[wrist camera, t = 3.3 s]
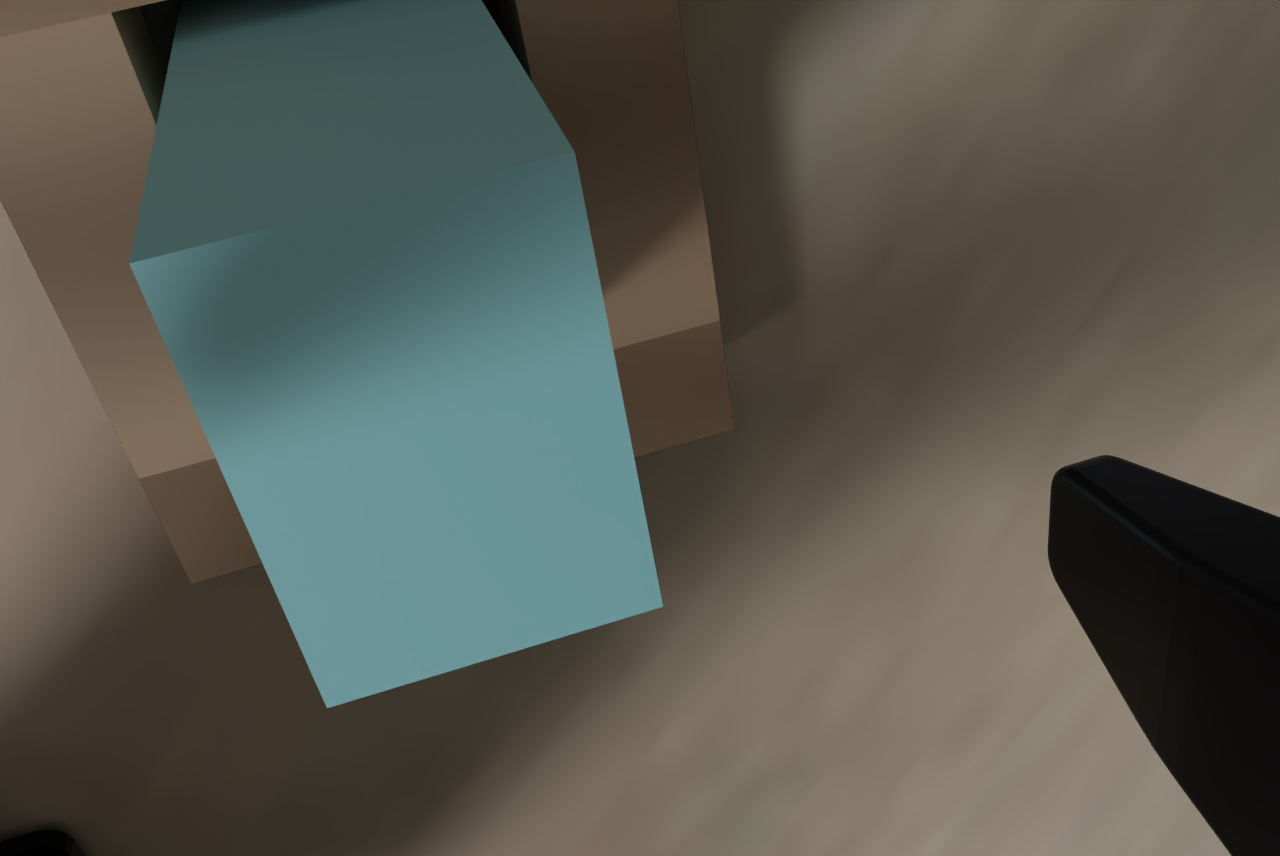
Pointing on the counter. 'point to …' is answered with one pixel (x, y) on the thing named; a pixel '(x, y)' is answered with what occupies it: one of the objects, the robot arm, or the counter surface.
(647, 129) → the brown flat piece
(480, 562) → the plug
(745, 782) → the counter surface
